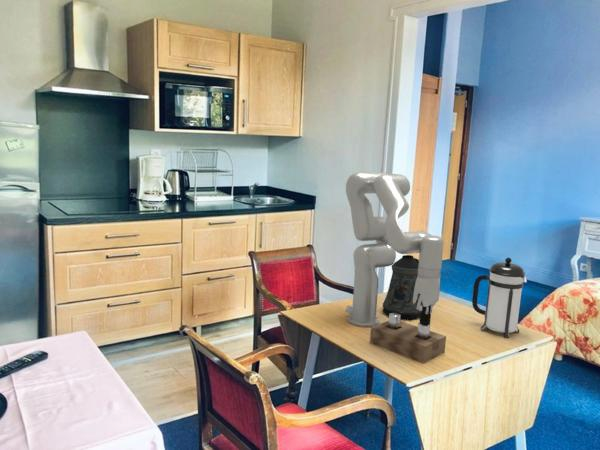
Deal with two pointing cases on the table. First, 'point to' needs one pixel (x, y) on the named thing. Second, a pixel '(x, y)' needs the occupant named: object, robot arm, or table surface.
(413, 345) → the walnut block
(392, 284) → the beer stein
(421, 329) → the peg
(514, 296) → the coffee press
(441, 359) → the table surface
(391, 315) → the peg
